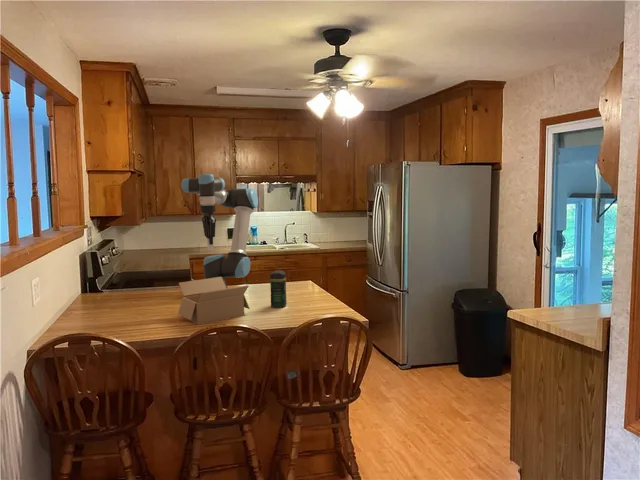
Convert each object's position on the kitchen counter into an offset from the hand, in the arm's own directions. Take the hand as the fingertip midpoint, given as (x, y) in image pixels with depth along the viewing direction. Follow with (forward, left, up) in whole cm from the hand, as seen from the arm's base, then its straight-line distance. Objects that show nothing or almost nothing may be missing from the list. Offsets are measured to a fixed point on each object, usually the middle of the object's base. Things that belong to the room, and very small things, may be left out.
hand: (210, 250), depth 262 cm
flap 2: (+25, -7, -20) cm, 33 cm away
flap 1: (+8, -7, -20) cm, 23 cm away
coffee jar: (+20, +28, -30) cm, 46 cm away
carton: (+17, -7, -30) cm, 35 cm away
